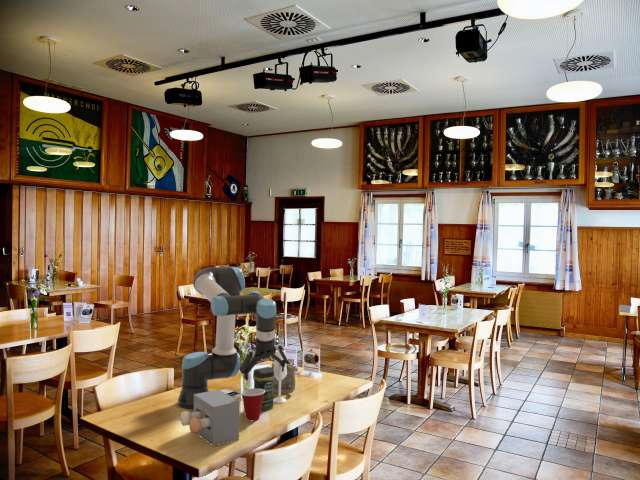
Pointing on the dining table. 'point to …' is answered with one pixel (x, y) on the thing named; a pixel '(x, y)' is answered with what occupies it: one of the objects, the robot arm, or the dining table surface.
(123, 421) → the dining table surface
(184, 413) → the ivory knob
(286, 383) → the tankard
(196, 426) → the terracotta knob
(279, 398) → the champagne flute
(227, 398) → the block
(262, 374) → the coffee jar
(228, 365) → the robot arm
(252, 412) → the plastic cup
